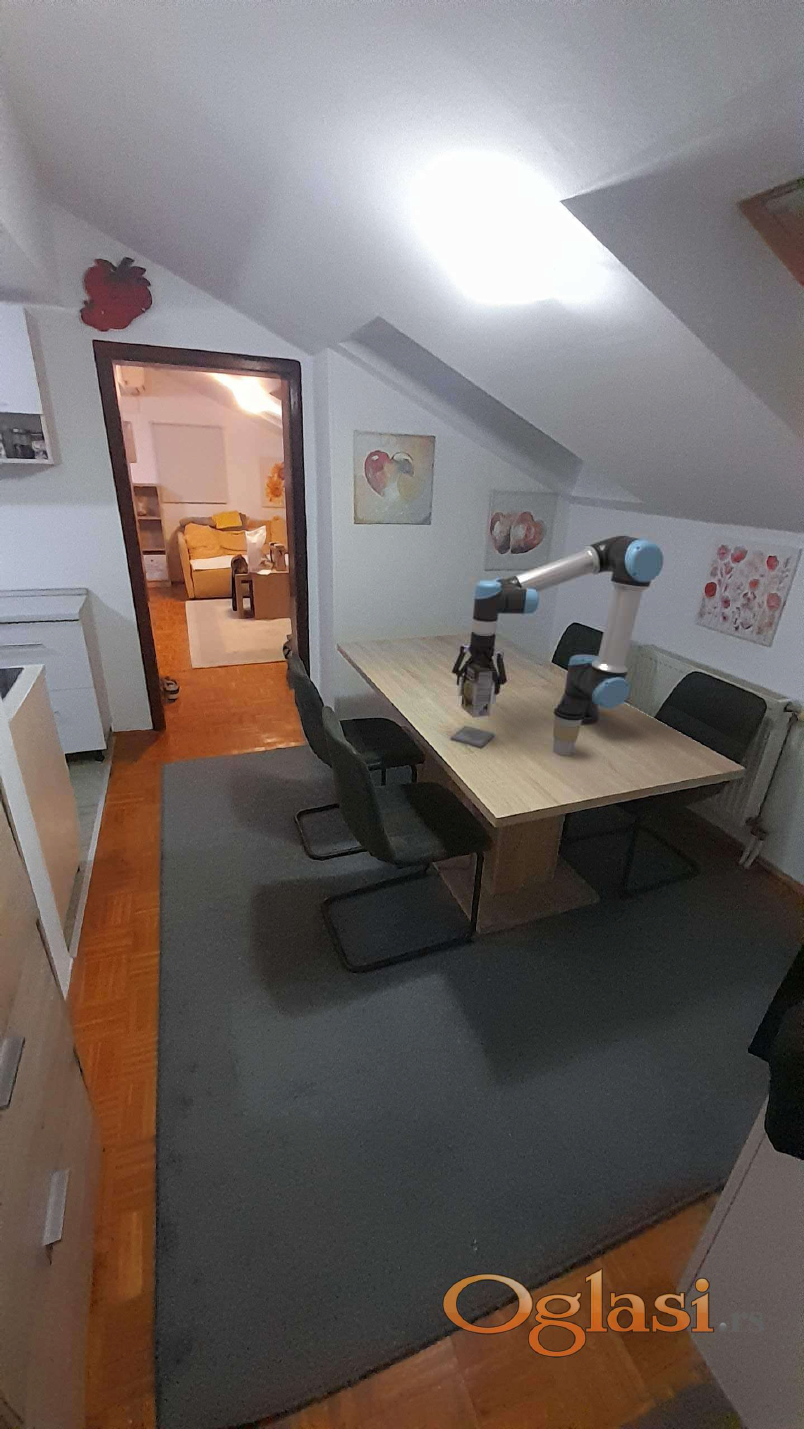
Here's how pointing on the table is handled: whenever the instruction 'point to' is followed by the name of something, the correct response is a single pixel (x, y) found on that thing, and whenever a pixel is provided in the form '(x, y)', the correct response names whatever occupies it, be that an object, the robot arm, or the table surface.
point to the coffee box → (477, 689)
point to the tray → (473, 737)
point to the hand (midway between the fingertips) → (476, 699)
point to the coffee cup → (566, 727)
